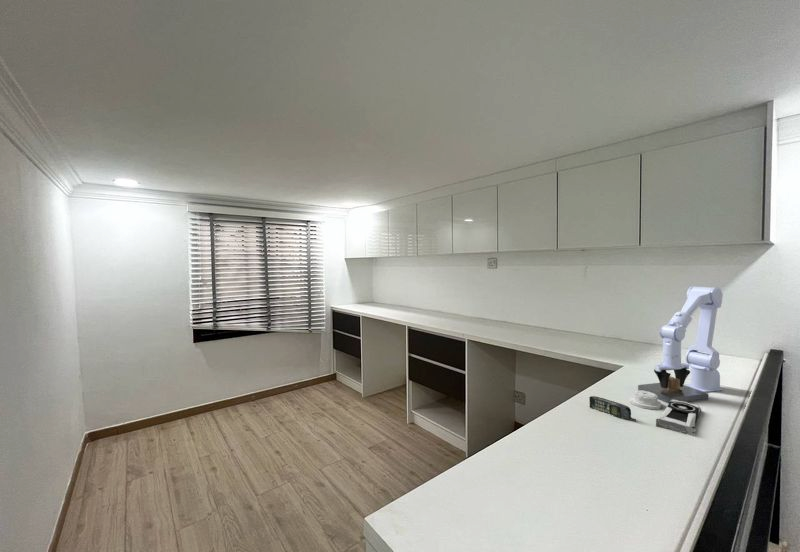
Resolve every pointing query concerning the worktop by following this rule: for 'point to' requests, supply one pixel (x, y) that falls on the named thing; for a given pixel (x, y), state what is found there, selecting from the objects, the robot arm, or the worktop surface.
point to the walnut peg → (673, 384)
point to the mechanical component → (645, 400)
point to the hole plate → (674, 393)
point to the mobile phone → (610, 407)
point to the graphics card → (680, 417)
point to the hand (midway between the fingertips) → (671, 387)
